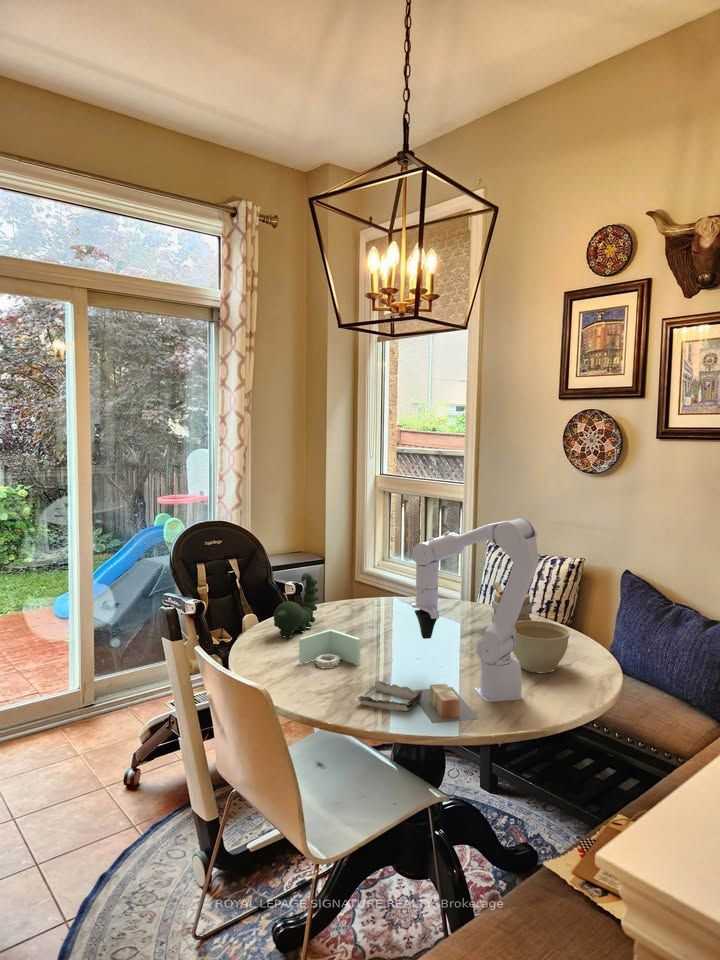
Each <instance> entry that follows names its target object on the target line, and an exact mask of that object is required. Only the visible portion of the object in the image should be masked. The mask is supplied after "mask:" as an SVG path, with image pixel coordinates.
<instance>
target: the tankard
mask: <svg viewBox="0 0 720 960" xmlns="http://www.w3.org/2000/svg"><path fill="white" fill-rule="evenodd" d="M492 589H493V590H495V591H496V592H495V593H494V595H493V597H494V598H493V599H492V601H491V608H492V609H493V614H492V616H491V623H492V622H493V619H494V617H495V614H496V611H497V608H498V606H499V603H500V600H501V598H502V595H503V592H504V589H503V588H502V587H501V585H500V583H499V582H497V581H495V582H494V583H493V584H492ZM531 611H533V603H532V602H531V595H530V594H528V593H527V595H526V598H525V600H524V603H523V605H522V608H521V611H520V613H519V616H518V619H517V621H516V622H518V621H533V620H532V619H533V618H531V617H530V614H531V613H530V612H531Z"/></svg>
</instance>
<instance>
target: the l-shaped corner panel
mask: <svg viewBox="0 0 720 960" xmlns="http://www.w3.org/2000/svg"><path fill="white" fill-rule="evenodd" d="M298 641H299V642H298V648H299V649H298V650H299V651H298V653H299V655H298V656H299V658H298V659H299V662H298V663H301V664H303V663H305V662H308V661H311V660H314V659H316V660H315V661H314V664H317V665H316V666H320V667H328V668H329V667H332V668H331V669H335V667H334V666H337V664H338V663H340V661H341V659H343V660H342V661H344V660H345V661H344V662H347V661H348V662H347V663H350V662H351V663H350V664H352V663H353V664H352V665H355V666H360V665H361V638H359V637H356V636H353V635H349V634H347V633H344V632H340V631H339V630H338V631H337V630H334V629H330V628H329V629H327V630H323V631H320V632H317V633H314V634H310V635H308V636H303V637H301V638H298ZM339 658H341V659H339ZM320 667H319V668H320ZM328 668H327V669H328Z"/></svg>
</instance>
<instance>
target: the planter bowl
mask: <svg viewBox="0 0 720 960" xmlns="http://www.w3.org/2000/svg"><path fill="white" fill-rule="evenodd" d="M515 629H516V634H515V648H514V650H513V651H512V653H513V654H514V657H515V659H517V660H518V662H519V664H520V667H521V669H522V670H524V669H525V671H527V670H528V671H527V672H530V671H532V672H531V673H534V672H550V671H552V670H554V669H555V670H556V667H557V665H558V664H560V662H561V661H562V660H563V658H564V656H565V654H566V651H567V649H568V644H569V639H570V635H571V634H570V631H569V630H568V629H567V628H566V627H565V626H562V625H560V624H557V623H553V622H548V621H542V620H532V621H518V622H516V624H515ZM555 670H554V671H555ZM550 673H551V672H550Z"/></svg>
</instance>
